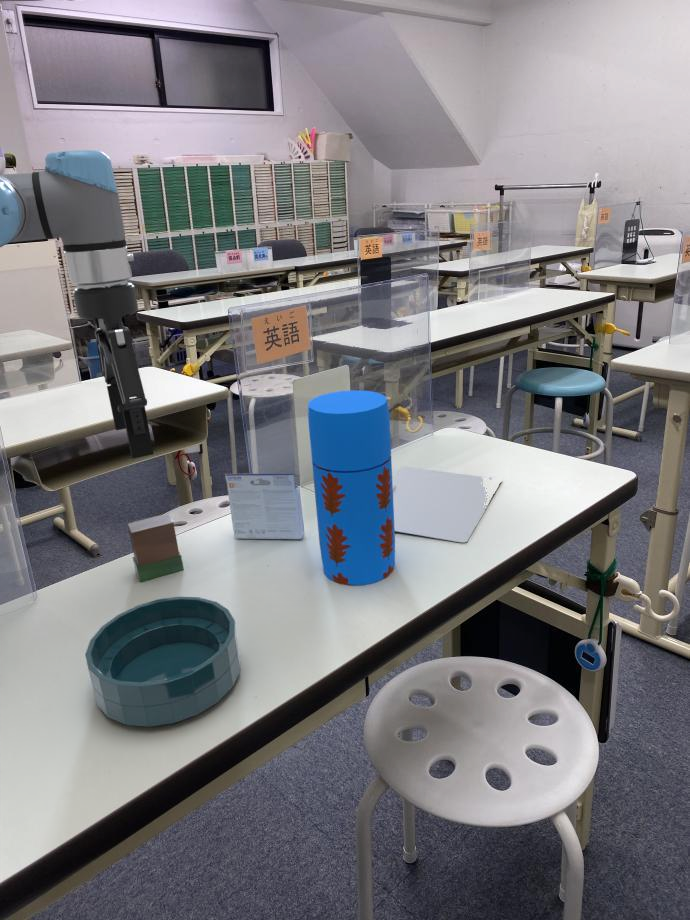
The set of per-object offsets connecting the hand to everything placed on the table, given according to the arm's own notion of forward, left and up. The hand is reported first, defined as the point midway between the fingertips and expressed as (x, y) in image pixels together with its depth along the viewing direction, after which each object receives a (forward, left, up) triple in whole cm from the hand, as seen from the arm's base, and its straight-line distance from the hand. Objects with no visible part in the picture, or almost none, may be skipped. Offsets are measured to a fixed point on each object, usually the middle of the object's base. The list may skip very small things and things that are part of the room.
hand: (133, 441), depth 95 cm
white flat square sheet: (+1, +45, -21) cm, 50 cm away
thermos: (+15, +26, -21) cm, 37 cm away
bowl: (+26, -4, -21) cm, 33 cm away
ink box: (-1, +18, -21) cm, 28 cm away
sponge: (0, 0, -21) cm, 21 cm away
